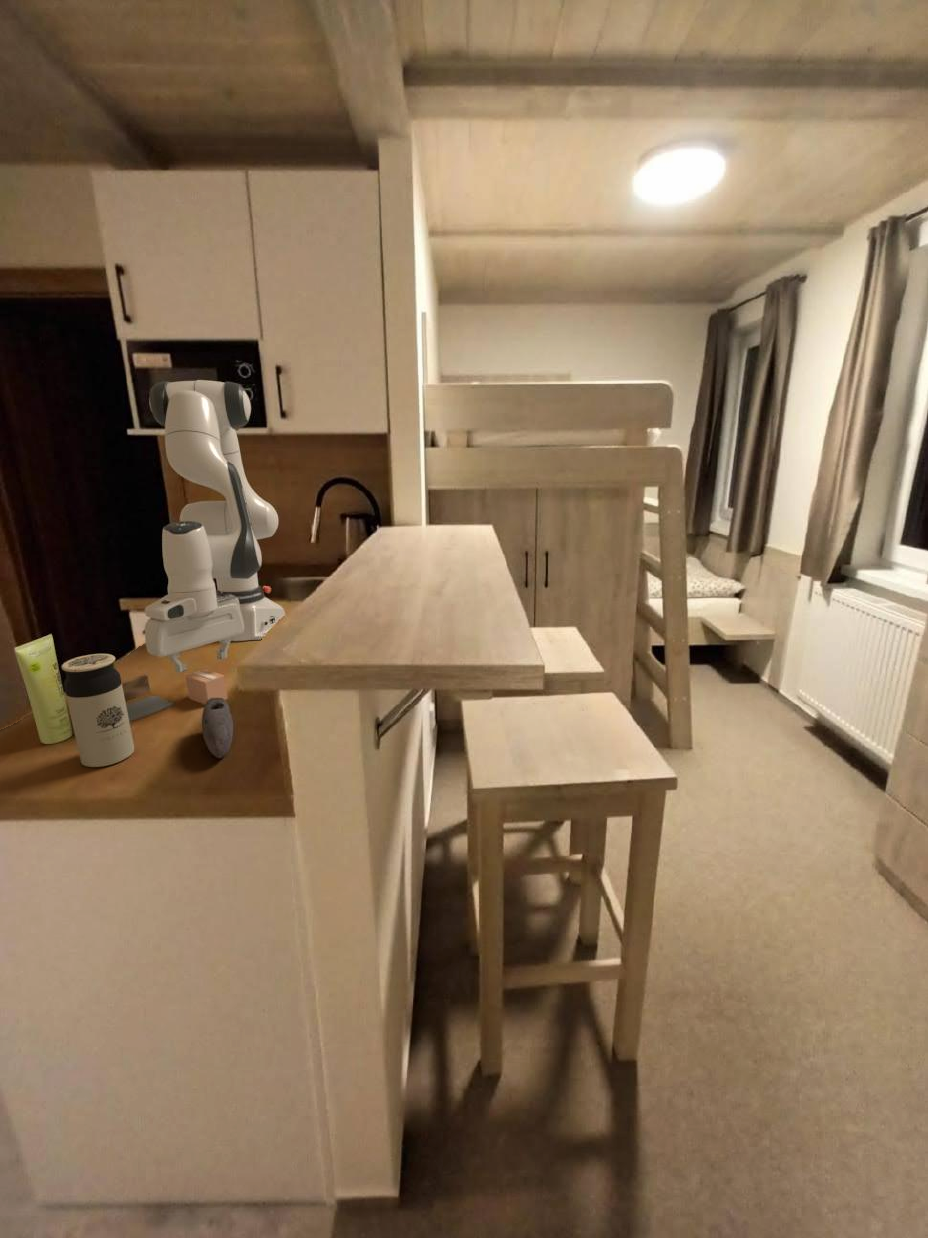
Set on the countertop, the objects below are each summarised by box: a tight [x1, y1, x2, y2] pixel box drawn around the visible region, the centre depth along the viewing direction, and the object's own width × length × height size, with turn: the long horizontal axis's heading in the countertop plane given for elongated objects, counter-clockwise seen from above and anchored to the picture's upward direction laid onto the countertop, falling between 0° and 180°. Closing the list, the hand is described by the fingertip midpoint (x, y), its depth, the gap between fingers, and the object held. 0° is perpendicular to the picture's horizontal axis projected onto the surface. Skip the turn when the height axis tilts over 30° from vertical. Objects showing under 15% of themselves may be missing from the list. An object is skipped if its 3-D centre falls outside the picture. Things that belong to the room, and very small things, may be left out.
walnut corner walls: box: [121, 674, 151, 702], centre depth 113 cm, size 15×14×4 cm
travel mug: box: [61, 653, 135, 768], centre depth 93 cm, size 8×8×18 cm
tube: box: [13, 633, 74, 745], centre depth 99 cm, size 6×5×20 cm
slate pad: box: [126, 695, 174, 723], centre depth 113 cm, size 10×8×1 cm
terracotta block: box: [185, 668, 228, 705], centre depth 118 cm, size 4×7×6 cm, turn 58°
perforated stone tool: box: [201, 698, 234, 759], centre depth 99 cm, size 15×5×7 cm, turn 23°
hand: (202, 664), depth 116 cm, fingers open, 8 cm apart
